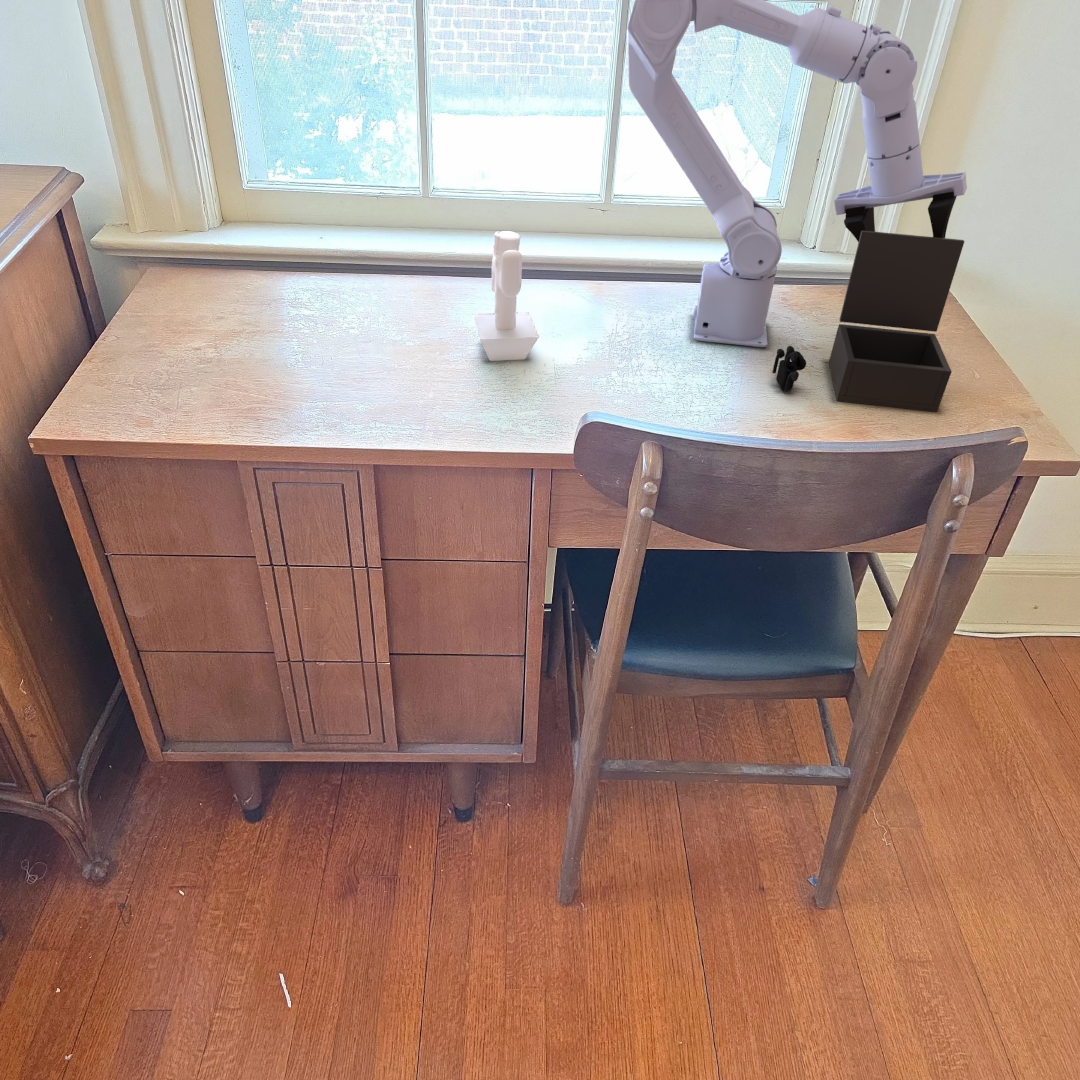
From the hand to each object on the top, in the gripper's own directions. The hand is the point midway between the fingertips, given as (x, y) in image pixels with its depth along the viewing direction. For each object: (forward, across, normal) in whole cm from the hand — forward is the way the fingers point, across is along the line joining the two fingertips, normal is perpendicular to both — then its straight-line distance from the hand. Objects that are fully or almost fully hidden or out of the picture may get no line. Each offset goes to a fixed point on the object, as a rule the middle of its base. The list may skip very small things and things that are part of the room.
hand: (906, 259), depth 111 cm
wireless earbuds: (+6, +10, +19) cm, 23 cm away
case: (+10, +2, +13) cm, 16 cm away
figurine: (-7, +41, +30) cm, 51 cm away
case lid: (0, -1, +6) cm, 6 cm away
